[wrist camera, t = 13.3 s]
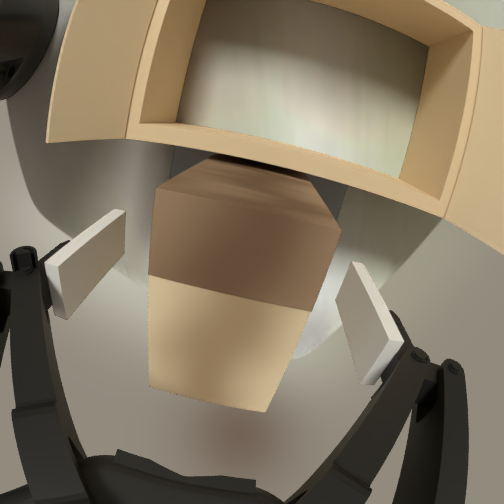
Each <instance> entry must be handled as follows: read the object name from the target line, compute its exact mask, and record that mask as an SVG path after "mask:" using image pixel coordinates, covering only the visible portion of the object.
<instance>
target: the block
mask: <svg viewBox="0 0 504 504" xmlns="http://www.w3.org/2000/svg"><path fill="white" fill-rule="evenodd" d="M341 232H342V230H341V228H340V226H339V225H338V223H337V222H336V220H335V219H334V217H333V215H332V214H331V212H330V211H329V209H328V208H327V206H326V204H325V203H324V201H323V200H322V198H321V197H320V195H319V194H318V192H317V191H316V189H315V188H314V186H313V185H312V183H311V182H310V180H309V179H308V177H307V176H306V174H305V173H304V172H300V171H296V170H292V169H288V168H284V167H280V166H276V165H272V164H268V163H264V162H259V161H255V160H250V159H246V158H241V157H236V156H231V155H227V154H222V153H216V154H215V155H213V156H211V157H209V158H207V159H205V160H203V161H202V162H200V163H198V164H196V165H194V166H192V167H191V168H189V169H187V170H185V171H184V172H182V173H180V174H178V175H177V176H175V177H173V178H172V179H170V180H168V181H166V182H165V183H163V184H161V185H160V186H158V187H156V188H155V197H154V206H153V216H152V227H151V239H150V253H149V271H148V274H149V292H148V295H149V296H148V363H149V386H150V387H153V388H156V389H159V390H163V391H166V392H170V393H174V394H177V395H181V396H185V397H189V398H193V399H197V400H202V401H206V402H210V403H215V404H219V405H224V406H229V407H235V408H240V409H246V410H252V411H258V412H264V413H265V412H266V410H267V408H268V406H269V404H270V402H271V400H272V398H273V396H274V394H275V392H276V390H277V387H278V385H279V383H280V381H281V379H282V377H283V375H284V372H285V370H286V368H287V366H288V364H289V361H290V359H291V357H292V355H293V352H294V350H295V348H296V346H297V343H298V341H299V339H300V336H301V334H302V332H303V329H304V327H305V324H306V322H307V320H308V317H309V315H310V312H311V311H312V310H313V307H314V305H315V302H316V300H317V297H318V295H319V292H320V289H321V287H322V284H323V282H324V279H325V276H326V274H327V271H328V268H329V266H330V263H331V260H332V258H333V255H334V252H335V249H336V246H337V244H338V241H339V238H340V235H341Z"/></svg>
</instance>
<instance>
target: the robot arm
mask: <svg viewBox="0 0 504 504" xmlns="http://www.w3.org/2000/svg"><path fill="white" fill-rule="evenodd" d="M57 15H58V0H0V100H4V99H7V98H9V97H10V96H12V95H13V94H15V93H16V92H17V91H18V90H19V89H20V88H21V87H22V86H23V85H24V84H25V83H26V81H27V80H28V79H29V78H30V76H31V75H32V73H33V72H34V70H35V69H36V67H37V66H38V64H39V62H40V61H41V59H42V57H43V55H44V53H45V51H46V49H47V47H48V44H49V42H50V39H51V37H52V34H53V31H54V28H55V24H56V20H57ZM125 218H126V211H123V210H118V209H114V210H112V211H111V212H109V213H108V214H106V215H105V216H104V217H102V218H101V219H99V220H98V221H97V222H95V223H94V224H93V225H91V226H90V227H88V228H87V229H86V230H84V231H83V232H82V233H80V234H79V235H78V236H77V237H75V238H74V239H73V240H71V241H70V240H68V241H65V242H63V243H60V244H59V245H58V246H57V247H55V248H54V249H53V250H51V251H50V252H49V253H48V254H47V255H45V256H44V257H43V258H41V259H40V260H39V261H38V259H37V258H38V257H37V251H36V249H35V248H34V247H31V246H23V247H19V248H16V249H14V250H13V251H12V252H11V254H10V259H11V264H12V269H13V271H4V270H3V265H2V263H1V262H0V366H1V362H2V357H3V353H4V349H5V345H6V340H7V337H8V333H9V329H10V346H11V347H10V348H11V367H12V378H13V387H14V395H15V402H16V408H15V409H12V422H13V428H14V433H15V438H16V442H17V447H18V451H19V455H20V459H21V463H22V466H23V470H24V474H25V477H26V480H27V483H28V484H26V485H24V486H21V487H19V488H16V489H14V490H11V491H9V492H6V493H3V494H0V504H365V502H366V501H367V499H368V498H369V496H370V494H371V492H372V489H371V488H370V485H371V483H372V481H373V480H374V478H375V477H376V475H377V473H378V472H379V470H380V468H381V467H382V465H383V463H384V461H385V460H386V458H387V456H388V455H389V453H390V451H391V449H392V448H393V446H394V444H395V442H396V440H397V438H398V436H399V434H400V432H401V430H402V428H403V426H404V424H405V422H406V420H407V418H408V416H409V414H410V412H411V409H412V415H411V422H410V428H409V434H408V440H407V445H406V450H405V455H404V460H403V464H402V469H401V473H400V477H399V481H398V485H397V489H396V492H395V496H394V499H393V503H392V504H465V496H466V487H467V474H468V453H469V431H468V430H469V428H468V406H467V393H466V383H465V374H464V370H463V368H462V367H461V365H460V364H459V363H458V362H456V361H454V360H452V359H446V360H445V361H444V362H443V363H442V364H441V366H439V365H437V364H434V363H431V362H430V359H429V356H428V355H427V354H426V352H424V351H423V350H422V349H420V348H418V347H414V346H413V344H412V343H411V340H410V338H409V336H408V334H407V332H406V331H405V328H404V327H403V325H402V323H401V321H400V319H399V317H398V316H397V315H396V314H395V313H394V312H393V311H391V310H388V308H387V306H386V304H385V302H384V301H383V299H382V297H381V295H380V293H379V291H378V289H377V288H376V286H375V284H374V282H373V280H372V279H371V277H370V275H369V273H368V271H367V270H366V268H365V266H364V264H362V263H358V262H354V261H351V264H350V266H349V269H348V271H347V273H346V276H345V278H344V281H343V283H342V285H341V288H340V290H339V292H338V295H337V297H336V299H335V301H336V304H337V307H338V310H339V314H340V317H341V320H342V324H343V327H344V330H345V334H346V337H347V340H348V344H349V347H350V351H351V354H352V358H353V362H354V365H355V369H356V372H357V376H358V380H359V384H363V385H374V384H375V383H376V381H377V380H378V379H379V378H380V376H381V379H382V382H383V383H382V384H381V386H380V387H379V388H378V390H377V391H376V392H375V393H374V395H373V396H372V397H371V398H372V399H371V401H370V402H369V403H368V405H367V406H366V408H365V409H364V411H363V412H362V414H361V415H360V416H359V418H358V419H357V420H356V422H355V423H354V425H353V426H352V427H351V429H350V430H349V431H348V433H347V434H346V435H345V437H344V438H343V439H342V440H341V442H340V443H339V444H338V445H337V447H336V448H335V449H334V450H333V452H332V453H331V454H330V455H329V456H328V457H327V459H326V460H325V461H324V462H323V463H322V464H321V466H320V467H319V468H318V469H317V470H316V471H315V472H314V473H313V475H312V476H311V477H310V478H309V479H308V480H307V481H306V482H305V483H304V484H303V485H302V486H301V487H300V488H299V490H297V491H296V492H295V493H294V494H293V495H292V496H291V497H289V498H288V499H287V500H286V501H285V502H282V501H281V500H280V499H278V498H277V497H276V496H274V495H272V494H271V493H269V492H267V491H265V490H262V489H260V488H256V480H251V479H243V478H235V477H228V476H195V477H186V476H182V475H179V474H177V473H175V472H173V471H171V470H169V469H167V468H165V467H163V466H161V465H159V464H157V463H155V462H154V461H152V460H150V459H147V458H143V457H140V456H137V455H134V454H131V453H128V452H125V451H122V450H119V449H117V452H116V455H115V456H113V455H99V456H92V457H87V456H86V454H85V452H84V450H83V448H82V445H81V443H80V441H79V438H78V436H77V433H76V430H75V427H74V424H73V421H72V418H71V415H70V411H69V408H68V405H67V401H66V398H65V395H64V391H63V386H62V382H61V378H60V374H59V370H58V365H57V361H56V356H55V350H54V346H53V339H52V333H51V326H50V319H49V314H48V309H49V308H50V307H51V305H52V306H53V311H54V315H56V316H58V317H60V318H63V319H66V320H68V319H69V317H70V316H71V315H72V314H73V312H74V311H75V310H76V309H77V308H78V306H79V305H80V304H81V303H82V301H83V300H84V299H85V298H86V297H87V296H88V294H89V293H90V292H91V291H92V290H93V288H94V287H95V286H96V285H97V284H98V283H99V281H100V280H101V279H102V278H103V277H104V276H105V275H106V273H107V272H108V271H109V270H110V269H111V268H112V267H113V266H114V265H115V263H116V262H117V261H118V260H119V259H120V258H121V257H122V256H123V255H124V250H125Z"/></svg>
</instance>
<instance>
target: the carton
mask: <svg viewBox="0 0 504 504" xmlns="http://www.w3.org/2000/svg"><path fill="white" fill-rule="evenodd" d="M311 1H314V2H318V3H322V4H325V5H329V6H332V7H336V8H339V9H342V10H345V11H348V12H351V13H354V14H357V15H359V16H362V17H365V18H367V19H370V20H373V21H375V22H378V23H380V24H383V25H385V26H387V27H390V28H392V29H394V30H396V31H398V32H401V33H403V34H405V35H407V36H409V37H411V38H413V39H415V40H417V41H419V42H421V43H423V44H425V45H427V46H428V47H429V49H428V56H427V62H426V68H425V74H424V79H423V85H422V90H421V95H420V100H419V104H418V109H417V113H416V117H415V122H414V126H413V130H412V134H411V138H410V141H409V145H408V149H407V152H406V156H405V159H404V163H403V166H402V170H401V173H400V176H399V179H398V178H395V177H392V176H390V175H387V174H384V173H381V172H378V171H376V170H373V169H370V168H367V167H364V166H361V165H358V164H355V163H352V162H349V161H345V160H342V159H339V158H336V157H332V156H329V155H326V154H322V153H319V152H315V151H311V150H308V149H304V148H300V147H297V146H293V145H289V144H285V143H281V142H277V141H272V140H268V139H264V138H259V137H255V136H250V135H245V134H241V133H236V132H230V131H225V130H220V129H214V128H208V127H202V126H196V125H190V124H183V123H176V118H177V113H178V108H179V103H180V98H181V94H182V89H183V85H184V80H185V76H186V72H187V67H188V63H189V59H190V56H191V52H192V48H193V44H194V40H195V37H196V33H197V30H198V26H199V23H200V20H201V16H202V13H203V10H204V7H205V3H206V0H76V2H75V4H74V7H73V10H72V13H71V16H70V19H69V22H68V25H67V29H66V32H65V35H64V39H63V43H62V46H61V50H60V54H59V58H58V63H57V67H56V72H55V77H54V82H53V88H52V94H51V100H50V107H49V114H48V123H47V133H46V143H56V142H67V141H81V140H99V139H125V138H126V139H134V140H142V141H150V142H157V143H164V144H170V145H177V146H183V147H189V148H195V149H200V150H206V151H211V152H216V153H222V154H227V155H231V156H236V157H241V158H246V159H250V160H255V161H259V162H264V163H268V164H272V165H276V166H280V167H284V168H288V169H292V170H296V171H300V172H304V173H308V174H311V175H315V176H319V177H322V178H326V179H329V180H333V181H336V182H340V183H343V184H346V185H350V186H353V187H356V188H359V189H362V190H366V191H369V192H372V193H375V194H378V195H381V196H384V197H387V198H390V199H393V200H395V201H398V202H401V203H404V204H407V205H410V206H412V207H415V208H418V209H420V210H423V211H426V212H428V213H431V214H433V215H436V216H439V217H441V218H444V219H445V220H447V221H449V222H450V223H452V224H454V225H456V226H457V227H459V228H461V229H463V230H464V231H466V232H468V233H469V234H471V235H473V236H474V237H476V238H477V239H479V240H481V241H482V242H484V243H486V244H487V245H489V246H490V247H492V248H494V249H495V250H496V251H498V252H499V253H501V254H502V255H504V30H502V29H497V28H491V27H485V26H483V27H482V26H480V25H479V24H478V23H476V22H475V21H473V20H472V19H471V18H469V17H468V16H466V15H465V14H463V13H462V12H460V11H459V10H457V9H456V8H454V7H453V6H451V5H449V4H448V3H446V2H444V1H443V0H311Z"/></svg>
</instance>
